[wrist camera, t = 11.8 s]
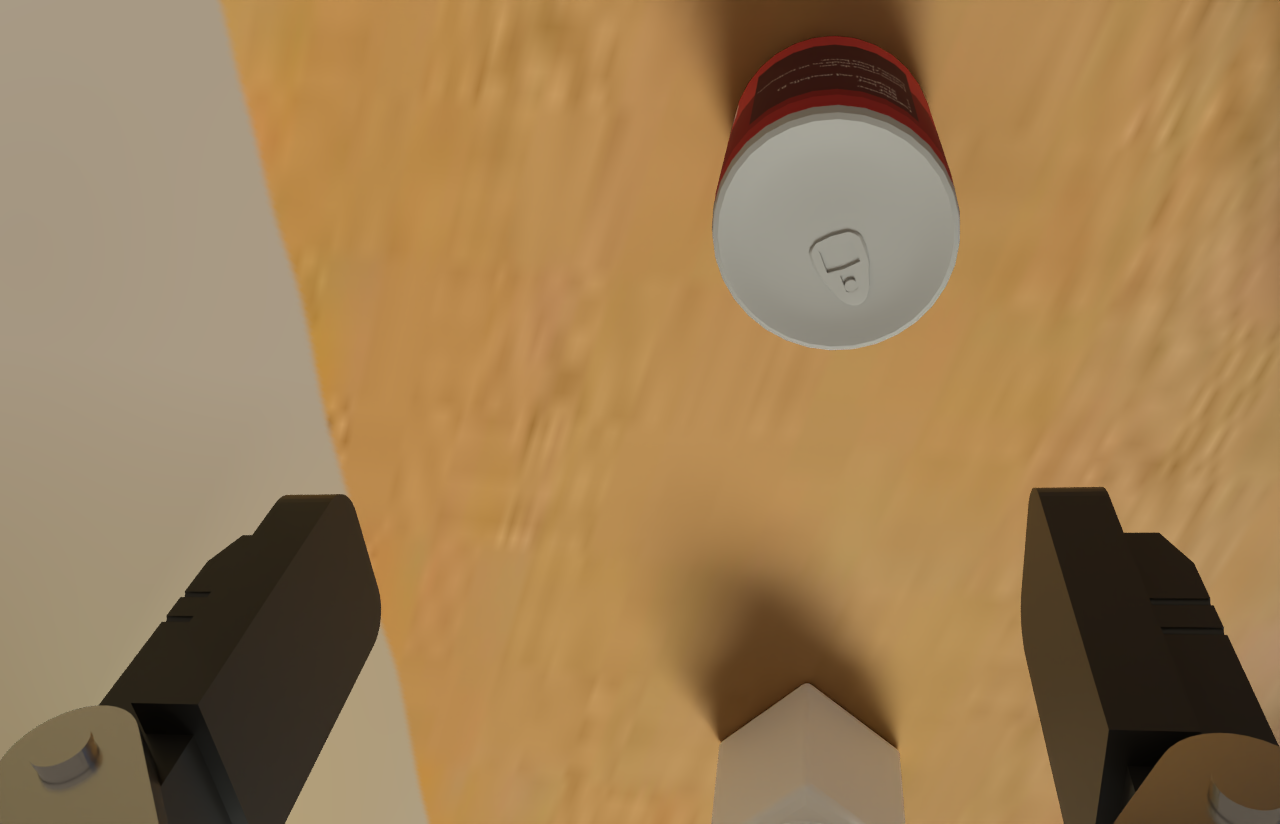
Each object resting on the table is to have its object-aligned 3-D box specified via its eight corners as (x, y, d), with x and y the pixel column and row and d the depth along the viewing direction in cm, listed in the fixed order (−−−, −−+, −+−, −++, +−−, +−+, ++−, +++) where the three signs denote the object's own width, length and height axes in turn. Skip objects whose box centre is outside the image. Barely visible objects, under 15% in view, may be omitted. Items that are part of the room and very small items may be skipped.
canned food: (811, 263, 46) (809, 393, 37) (692, 115, 44) (657, 213, 34) (971, 154, 43) (1015, 265, 34) (853, -14, 40) (863, 56, 31)
